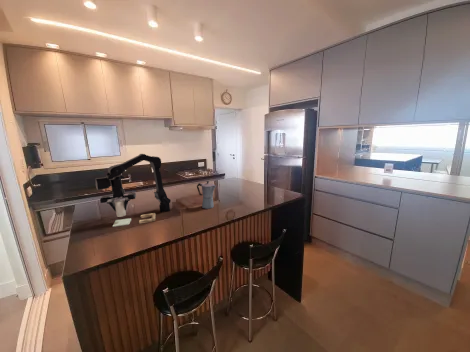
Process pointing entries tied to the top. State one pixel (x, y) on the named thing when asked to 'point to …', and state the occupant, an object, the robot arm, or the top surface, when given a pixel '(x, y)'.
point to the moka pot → (207, 194)
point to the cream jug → (120, 208)
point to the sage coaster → (122, 222)
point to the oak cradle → (147, 219)
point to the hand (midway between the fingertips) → (120, 210)
